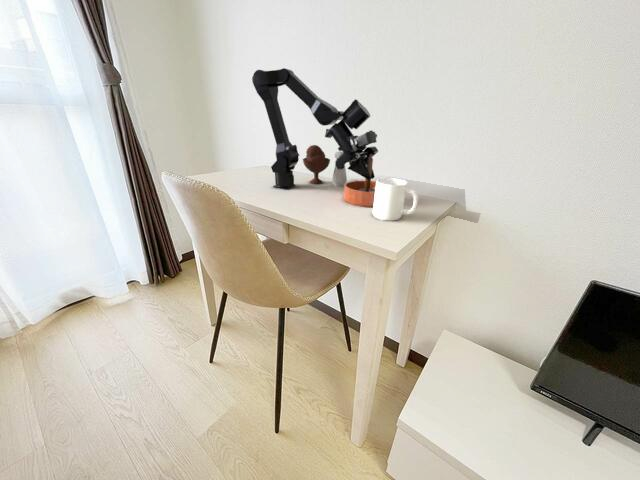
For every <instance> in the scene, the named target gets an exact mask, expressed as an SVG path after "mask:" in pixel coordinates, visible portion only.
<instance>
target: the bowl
mask: <svg viewBox="0 0 640 480" xmlns="http://www.w3.org/2000/svg"><path fill="white" fill-rule="evenodd" d="M361 188H365V180H363V179H362V180H351V181H346V183H345V184H344V186H343V197H342V199H343V200H344V201H345V202H346V203H348V204H350V205H353V206H357V207H364V208H366V207H367V208H368V207H370V208H371V207H372V208H373V206H374V197H375V191H372V192H368V191H359V189H361ZM370 189H374V190H375V189H376V181H375V180H373V181H372V180H371V183H370Z"/></svg>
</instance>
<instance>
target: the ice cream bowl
mask: <svg viewBox="0 0 640 480" xmlns="http://www.w3.org/2000/svg"><path fill="white" fill-rule="evenodd" d="M305 153H306V156H305V157H304V158H302V163H303V165H304V166H305V168H306V170H308V171H310V172H311V173H313V178H312V179H311V180H310V181H309V184H311V185H321V184H322V185H323V183H324V182H323V181H322V179H320V178H319V174H320V173H322V172H323V171H325V170H326V169H327V168H328V167H329V165H330V162H331V159H330V158H329V157H326V154H325V152H324V151H323V150H322V148H321V146H319V145H317V144H311V145H309V146H308V147H307V148H306V152H305Z"/></svg>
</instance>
